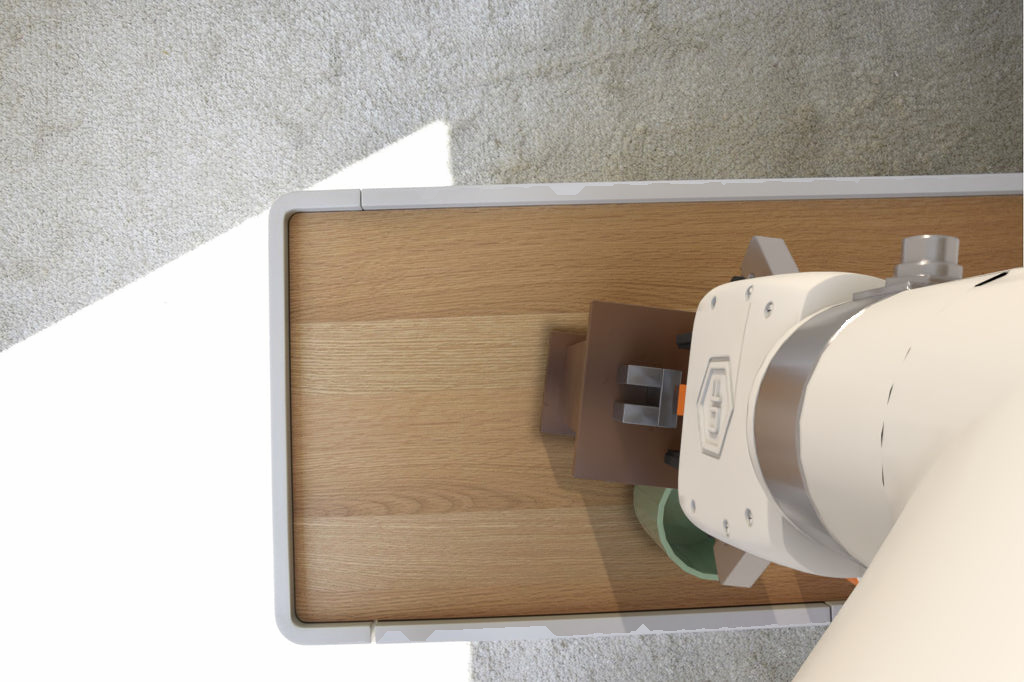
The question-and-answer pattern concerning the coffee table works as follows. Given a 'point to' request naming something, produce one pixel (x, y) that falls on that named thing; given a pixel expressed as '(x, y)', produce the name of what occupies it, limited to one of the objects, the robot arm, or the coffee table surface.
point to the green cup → (675, 530)
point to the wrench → (652, 396)
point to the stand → (614, 391)
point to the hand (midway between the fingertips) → (698, 401)
